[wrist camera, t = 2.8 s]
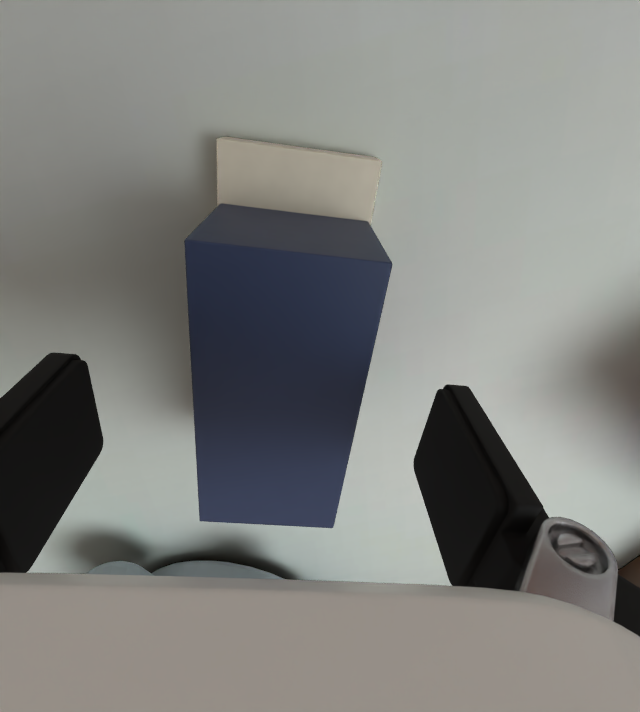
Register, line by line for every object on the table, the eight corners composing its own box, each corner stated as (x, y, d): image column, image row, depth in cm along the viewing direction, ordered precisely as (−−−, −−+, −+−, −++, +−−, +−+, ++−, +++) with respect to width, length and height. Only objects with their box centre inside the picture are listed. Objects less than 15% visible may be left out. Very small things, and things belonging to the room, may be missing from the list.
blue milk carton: (223, 136, 13) (173, 148, 8) (376, 157, 13) (416, 181, 8) (224, 422, 19) (196, 524, 14) (328, 430, 19) (335, 532, 14)
